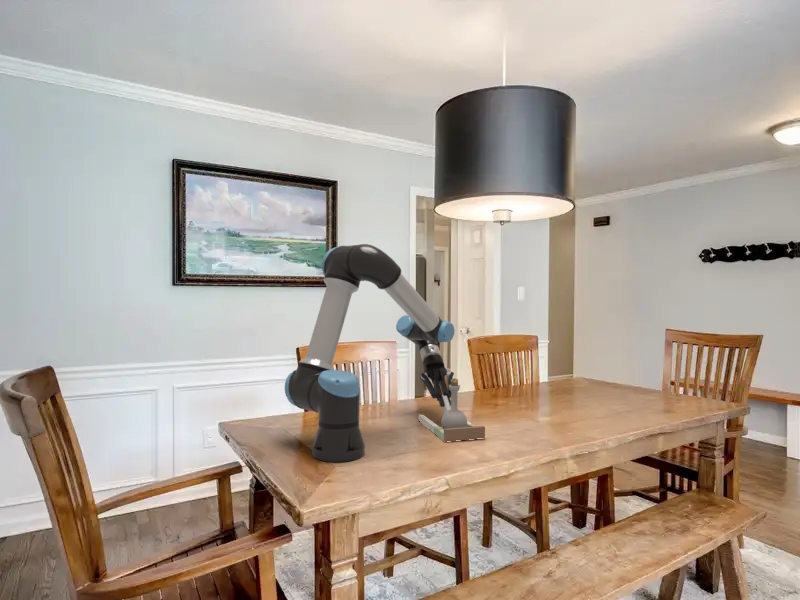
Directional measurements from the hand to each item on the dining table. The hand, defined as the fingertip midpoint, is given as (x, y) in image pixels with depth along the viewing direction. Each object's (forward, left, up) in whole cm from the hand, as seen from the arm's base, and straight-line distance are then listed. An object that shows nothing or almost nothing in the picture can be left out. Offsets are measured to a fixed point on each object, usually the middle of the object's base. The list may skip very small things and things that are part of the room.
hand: (448, 413), depth 167 cm
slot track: (-1, 0, -5) cm, 5 cm away
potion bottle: (-5, -2, -5) cm, 7 cm away
